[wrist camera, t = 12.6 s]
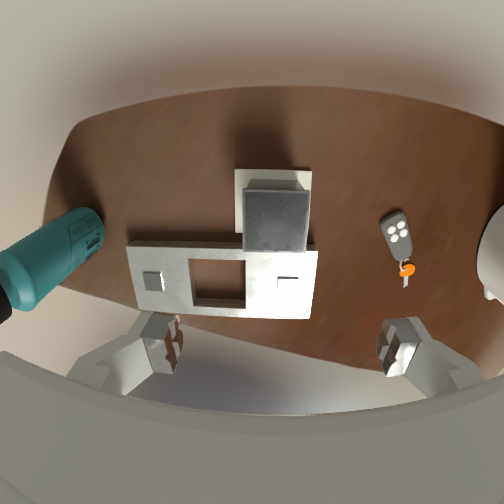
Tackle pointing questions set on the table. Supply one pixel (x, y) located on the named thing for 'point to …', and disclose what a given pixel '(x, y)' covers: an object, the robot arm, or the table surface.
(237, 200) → the pad
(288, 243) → the dark grey box
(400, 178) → the table surface
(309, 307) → the cabinet panel
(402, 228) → the key chain
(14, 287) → the beverage bottle
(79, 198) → the table surface
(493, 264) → the robot arm
